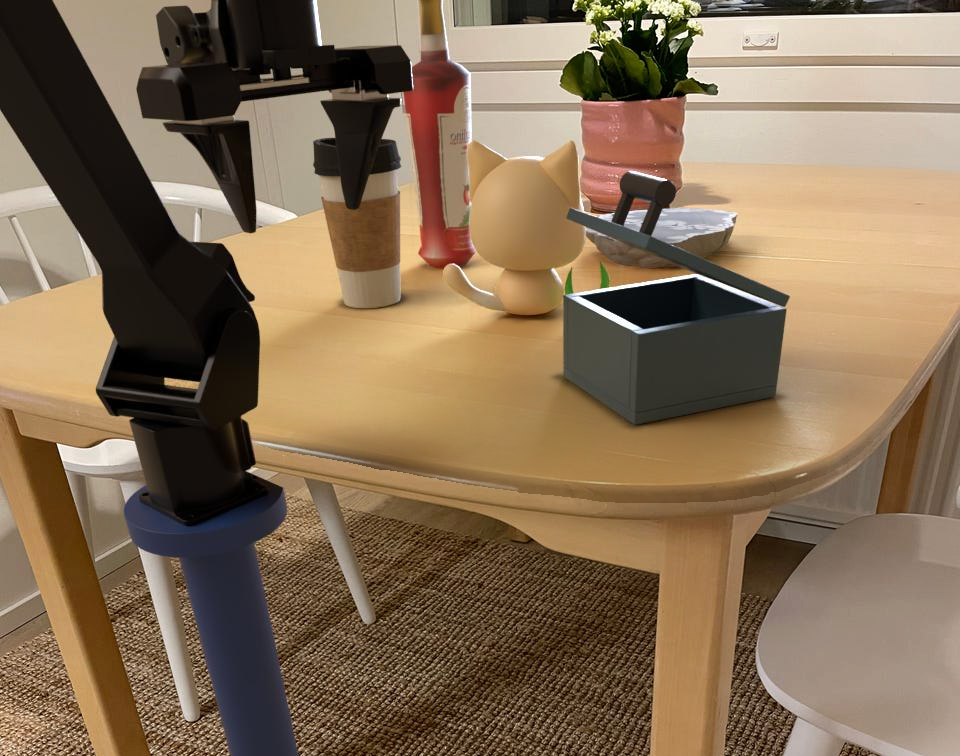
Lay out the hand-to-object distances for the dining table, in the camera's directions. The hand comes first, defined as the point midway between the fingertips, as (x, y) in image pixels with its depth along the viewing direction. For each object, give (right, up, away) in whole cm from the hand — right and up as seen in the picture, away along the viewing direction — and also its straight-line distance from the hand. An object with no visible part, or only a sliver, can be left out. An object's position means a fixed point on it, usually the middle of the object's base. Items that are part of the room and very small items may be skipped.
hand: (303, 220), depth 68 cm
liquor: (+9, +14, +43) cm, 46 cm away
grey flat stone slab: (+33, +15, +43) cm, 56 cm away
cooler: (+27, -10, +5) cm, 29 cm away
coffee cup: (+1, +5, +31) cm, 31 cm away
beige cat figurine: (+18, +2, +24) cm, 30 cm away
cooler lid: (+26, -3, 0) cm, 27 cm away
